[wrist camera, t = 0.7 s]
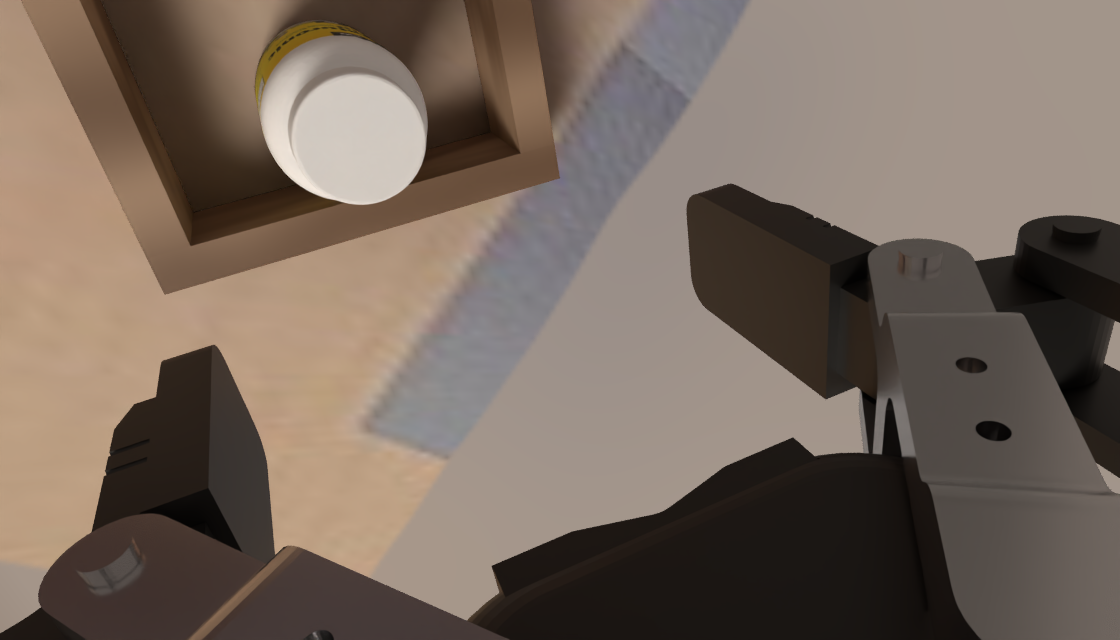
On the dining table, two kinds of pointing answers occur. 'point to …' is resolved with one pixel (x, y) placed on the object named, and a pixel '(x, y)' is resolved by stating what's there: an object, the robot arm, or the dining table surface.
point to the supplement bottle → (340, 113)
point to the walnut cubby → (294, 213)
